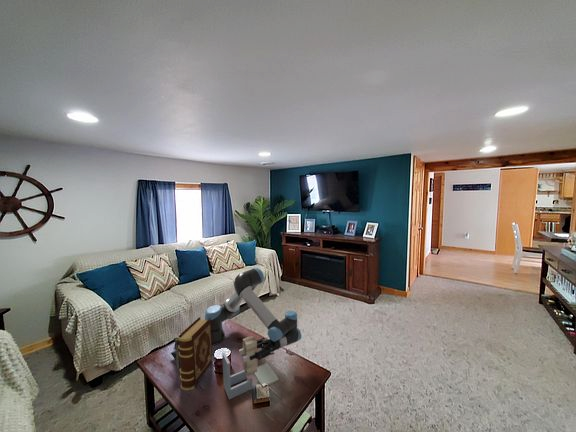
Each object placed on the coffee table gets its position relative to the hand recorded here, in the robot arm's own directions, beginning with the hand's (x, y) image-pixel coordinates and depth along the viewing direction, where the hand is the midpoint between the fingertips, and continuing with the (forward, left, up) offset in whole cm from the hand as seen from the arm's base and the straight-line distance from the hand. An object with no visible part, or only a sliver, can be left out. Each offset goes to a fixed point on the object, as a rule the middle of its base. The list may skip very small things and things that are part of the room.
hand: (241, 356), depth 129 cm
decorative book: (-22, -20, -18) cm, 35 cm away
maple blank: (0, +5, -11) cm, 12 cm away
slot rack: (0, -2, -18) cm, 18 cm away
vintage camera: (-40, -26, -18) cm, 51 cm away
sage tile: (0, +14, -18) cm, 23 cm away
